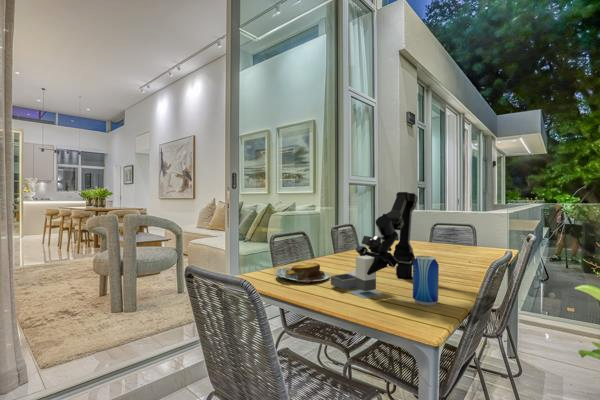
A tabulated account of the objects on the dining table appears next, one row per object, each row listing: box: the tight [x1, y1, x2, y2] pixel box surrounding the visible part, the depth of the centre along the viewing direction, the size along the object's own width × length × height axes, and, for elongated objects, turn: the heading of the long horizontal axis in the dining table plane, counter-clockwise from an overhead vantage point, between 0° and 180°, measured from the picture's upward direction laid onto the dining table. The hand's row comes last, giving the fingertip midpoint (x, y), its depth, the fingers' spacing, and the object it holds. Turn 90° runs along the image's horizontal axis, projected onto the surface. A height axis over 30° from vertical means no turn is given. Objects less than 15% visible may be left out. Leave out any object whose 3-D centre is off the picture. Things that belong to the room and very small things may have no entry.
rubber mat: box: [347, 288, 385, 299], centre depth 121 cm, size 10×10×1 cm
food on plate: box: [273, 262, 330, 284], centre depth 144 cm, size 25×25×7 cm
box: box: [355, 255, 377, 291], centre depth 121 cm, size 5×5×12 cm
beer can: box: [412, 255, 440, 306], centre depth 112 cm, size 8×8×16 cm
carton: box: [325, 269, 357, 290], centre depth 131 cm, size 14×8×5 cm, turn 117°
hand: (362, 272), depth 120 cm, fingers closed on box, 5 cm apart
